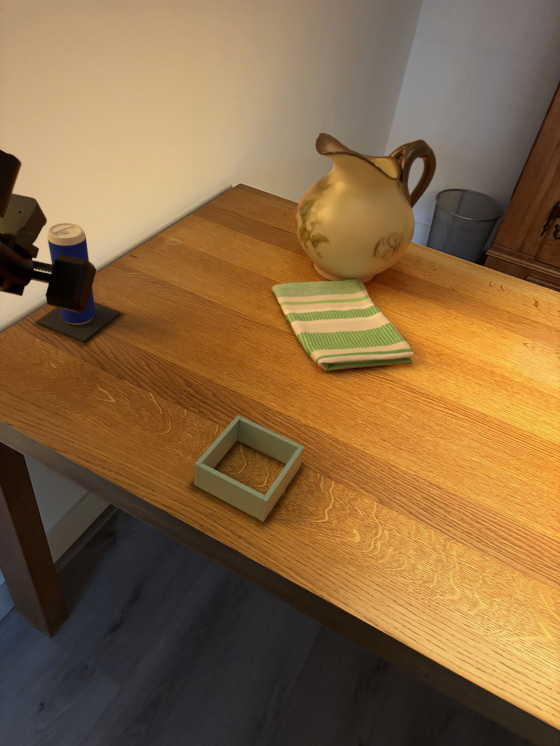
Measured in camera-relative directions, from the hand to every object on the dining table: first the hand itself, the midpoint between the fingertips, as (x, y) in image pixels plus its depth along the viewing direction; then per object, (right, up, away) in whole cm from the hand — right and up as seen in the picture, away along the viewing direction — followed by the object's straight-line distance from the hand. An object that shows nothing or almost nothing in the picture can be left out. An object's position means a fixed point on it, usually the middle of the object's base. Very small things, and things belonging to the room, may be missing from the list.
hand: (48, 288), depth 74 cm
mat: (-1, -3, +13) cm, 13 cm away
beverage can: (-1, -3, +13) cm, 13 cm away
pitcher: (+45, +10, +36) cm, 58 cm away
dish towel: (+42, -4, +20) cm, 46 cm away
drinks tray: (+28, -24, -7) cm, 37 cm away
